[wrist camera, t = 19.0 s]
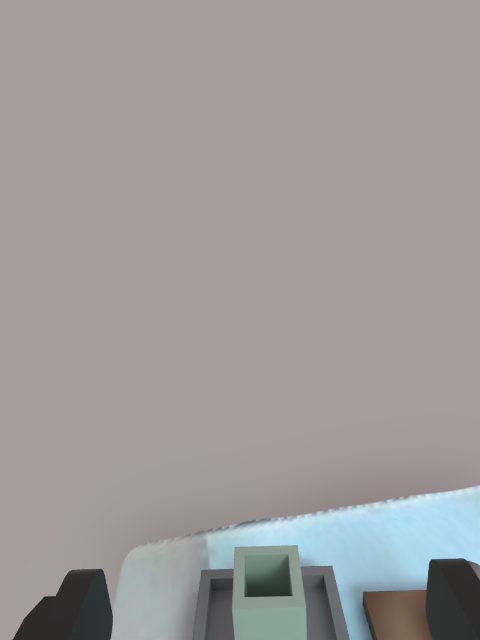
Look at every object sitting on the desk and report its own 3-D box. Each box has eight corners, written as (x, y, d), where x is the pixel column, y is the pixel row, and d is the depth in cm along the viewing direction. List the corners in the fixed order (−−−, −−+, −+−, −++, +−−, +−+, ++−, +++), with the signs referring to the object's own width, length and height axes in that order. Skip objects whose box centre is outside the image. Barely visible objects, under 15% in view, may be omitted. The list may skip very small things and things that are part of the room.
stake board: (490, 600, 37) (504, 508, 34) (601, 779, 25) (636, 663, 22) (362, 604, 37) (365, 513, 34) (414, 781, 26) (425, 668, 23)
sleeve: (299, 637, 34) (297, 545, 31) (308, 708, 29) (306, 607, 26) (242, 638, 34) (234, 547, 31) (241, 709, 29) (232, 608, 26)
